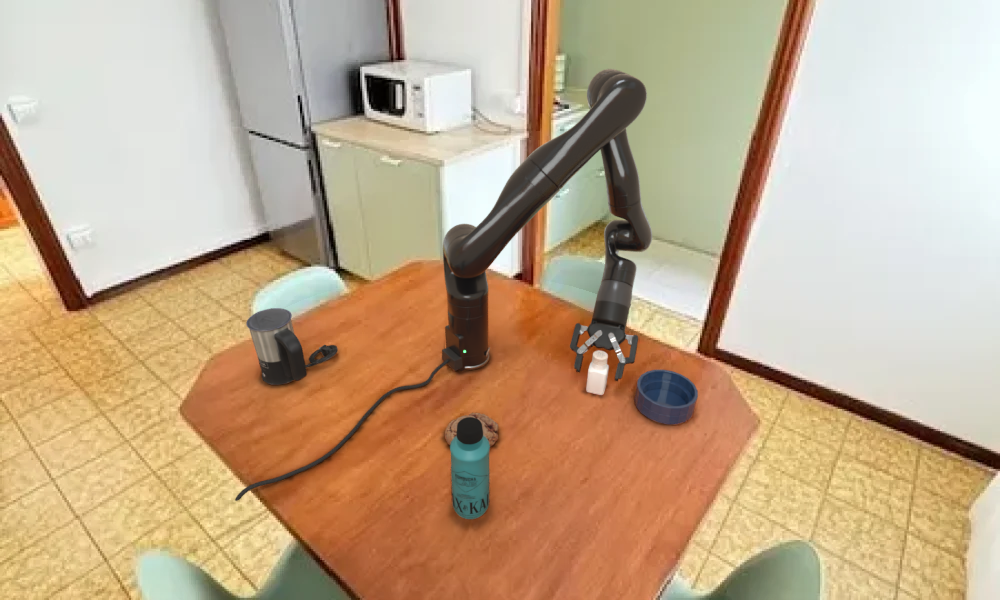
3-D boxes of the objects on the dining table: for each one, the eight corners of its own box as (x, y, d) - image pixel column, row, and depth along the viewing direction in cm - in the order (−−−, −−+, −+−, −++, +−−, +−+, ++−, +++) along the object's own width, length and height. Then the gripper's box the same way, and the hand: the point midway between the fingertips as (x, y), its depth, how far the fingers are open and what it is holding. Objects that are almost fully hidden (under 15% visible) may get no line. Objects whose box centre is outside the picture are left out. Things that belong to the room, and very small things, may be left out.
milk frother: (252, 379, 121) (236, 325, 114) (299, 341, 134) (287, 290, 126) (303, 395, 117) (290, 340, 109) (347, 355, 129) (338, 302, 122)
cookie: (438, 427, 109) (438, 416, 108) (487, 412, 113) (487, 402, 111) (455, 462, 101) (454, 450, 100) (506, 445, 105) (506, 434, 103)
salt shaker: (606, 385, 120) (611, 351, 116) (603, 396, 117) (608, 362, 112) (588, 381, 122) (592, 347, 117) (585, 392, 118) (589, 358, 113)
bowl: (668, 435, 108) (673, 416, 105) (622, 402, 116) (625, 384, 113) (705, 409, 114) (709, 391, 111) (658, 379, 122) (662, 362, 120)
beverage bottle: (451, 495, 95) (446, 410, 85) (489, 493, 95) (489, 408, 85) (452, 528, 89) (446, 441, 79) (492, 525, 90) (492, 438, 79)
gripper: (579, 294, 118) (562, 366, 115) (645, 306, 114) (630, 382, 110) (582, 302, 125) (566, 371, 122) (645, 314, 121) (630, 386, 117)
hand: (596, 376), depth 116 cm, fingers open, 8 cm apart
